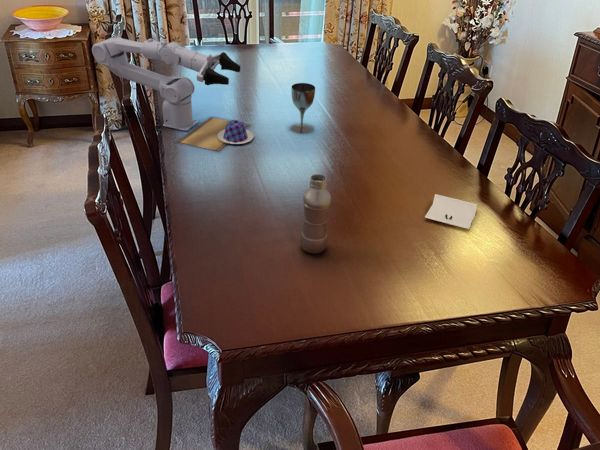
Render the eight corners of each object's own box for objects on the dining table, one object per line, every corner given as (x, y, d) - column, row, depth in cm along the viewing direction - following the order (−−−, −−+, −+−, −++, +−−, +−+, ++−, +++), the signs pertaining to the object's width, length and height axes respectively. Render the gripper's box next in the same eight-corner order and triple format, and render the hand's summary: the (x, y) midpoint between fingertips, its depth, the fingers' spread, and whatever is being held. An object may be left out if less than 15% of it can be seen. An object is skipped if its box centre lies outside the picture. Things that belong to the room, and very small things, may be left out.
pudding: (229, 127, 191) (229, 112, 188) (260, 135, 187) (260, 121, 184) (210, 140, 182) (209, 125, 179) (241, 149, 178) (241, 134, 175)
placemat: (177, 142, 180) (177, 141, 180) (210, 117, 198) (210, 117, 198) (218, 151, 176) (218, 151, 176) (248, 125, 193) (248, 125, 193)
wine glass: (310, 134, 189) (312, 92, 181) (287, 131, 191) (289, 89, 182) (314, 125, 196) (317, 84, 187) (292, 122, 197) (294, 81, 189)
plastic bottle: (309, 237, 139) (313, 168, 128) (331, 247, 136) (338, 177, 125) (294, 250, 135) (297, 178, 124) (317, 260, 132) (323, 188, 121)
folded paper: (423, 220, 148) (425, 214, 147) (433, 199, 158) (435, 193, 156) (469, 232, 144) (470, 226, 143) (476, 210, 154) (478, 204, 153)
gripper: (183, 62, 169) (222, 76, 166) (207, 39, 178) (245, 52, 175) (184, 81, 174) (223, 95, 171) (208, 58, 183) (244, 71, 180)
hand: (234, 75), depth 174 cm, fingers open, 7 cm apart
